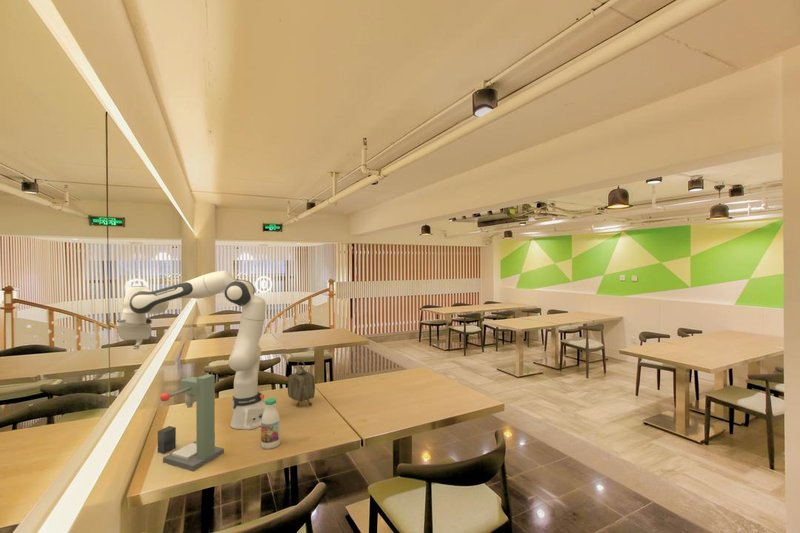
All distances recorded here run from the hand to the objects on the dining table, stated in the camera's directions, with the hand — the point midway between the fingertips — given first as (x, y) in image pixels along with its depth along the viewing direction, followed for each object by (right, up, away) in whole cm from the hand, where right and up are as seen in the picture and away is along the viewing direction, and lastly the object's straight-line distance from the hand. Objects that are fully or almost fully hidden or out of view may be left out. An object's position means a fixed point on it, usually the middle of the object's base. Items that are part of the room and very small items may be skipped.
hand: (127, 349), depth 163 cm
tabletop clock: (+72, -40, +34) cm, 89 cm away
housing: (+28, -40, -14) cm, 51 cm away
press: (+42, -39, -24) cm, 62 cm away
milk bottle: (+71, -40, -11) cm, 82 cm away
